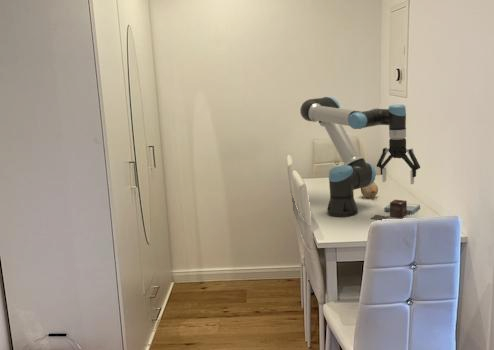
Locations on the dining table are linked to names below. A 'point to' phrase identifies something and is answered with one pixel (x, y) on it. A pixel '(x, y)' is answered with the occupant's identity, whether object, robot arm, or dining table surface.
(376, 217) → the stub mat
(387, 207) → the ticket board
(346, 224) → the dining table surface
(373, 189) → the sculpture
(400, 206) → the box
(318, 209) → the dining table surface
